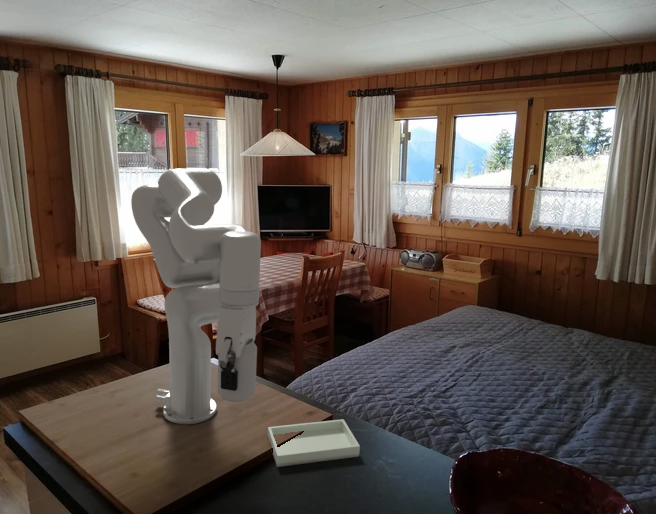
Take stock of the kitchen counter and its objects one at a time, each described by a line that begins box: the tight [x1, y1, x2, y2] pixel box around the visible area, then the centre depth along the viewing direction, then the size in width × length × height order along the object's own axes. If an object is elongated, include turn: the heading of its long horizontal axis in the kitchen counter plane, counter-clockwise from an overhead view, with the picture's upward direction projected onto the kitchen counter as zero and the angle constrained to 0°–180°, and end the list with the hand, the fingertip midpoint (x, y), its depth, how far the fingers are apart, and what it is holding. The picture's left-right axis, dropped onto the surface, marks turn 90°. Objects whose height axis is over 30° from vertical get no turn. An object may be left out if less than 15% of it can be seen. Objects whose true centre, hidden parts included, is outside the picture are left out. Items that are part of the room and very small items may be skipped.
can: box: [217, 338, 258, 403], centre depth 101 cm, size 8×8×12 cm
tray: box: [267, 418, 361, 468], centre depth 112 cm, size 18×11×2 cm, turn 107°
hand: (236, 379), depth 102 cm, fingers closed on can, 7 cm apart
